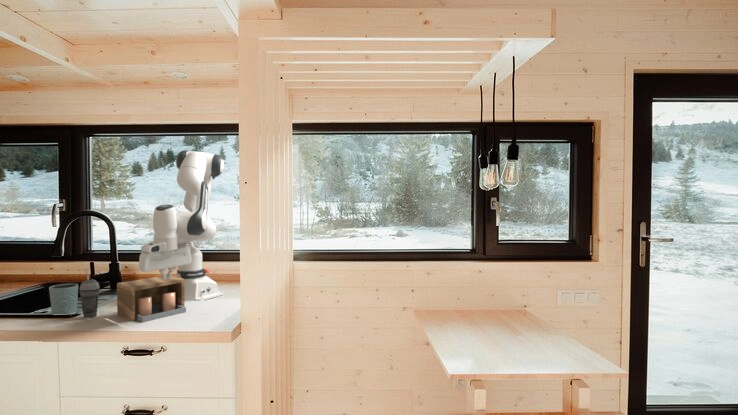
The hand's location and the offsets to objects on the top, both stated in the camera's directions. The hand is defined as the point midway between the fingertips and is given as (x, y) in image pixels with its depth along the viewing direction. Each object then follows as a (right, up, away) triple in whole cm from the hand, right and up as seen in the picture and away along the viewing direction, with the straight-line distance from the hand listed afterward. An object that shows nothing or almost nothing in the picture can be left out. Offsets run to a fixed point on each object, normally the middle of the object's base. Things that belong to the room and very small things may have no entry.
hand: (166, 278), depth 174 cm
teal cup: (-46, -16, +6) cm, 49 cm away
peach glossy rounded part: (-3, -16, +9) cm, 18 cm away
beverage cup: (-33, -16, +2) cm, 37 cm away
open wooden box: (-10, -16, +8) cm, 21 cm away
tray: (-7, -16, +6) cm, 19 cm away
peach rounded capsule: (-9, -16, +1) cm, 18 cm away
